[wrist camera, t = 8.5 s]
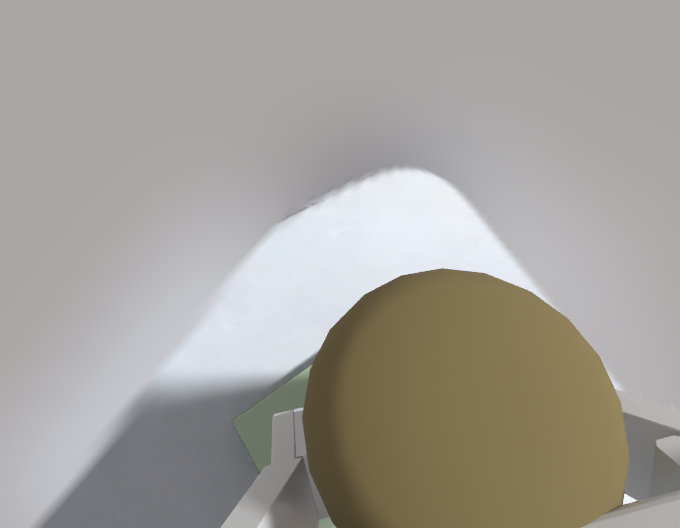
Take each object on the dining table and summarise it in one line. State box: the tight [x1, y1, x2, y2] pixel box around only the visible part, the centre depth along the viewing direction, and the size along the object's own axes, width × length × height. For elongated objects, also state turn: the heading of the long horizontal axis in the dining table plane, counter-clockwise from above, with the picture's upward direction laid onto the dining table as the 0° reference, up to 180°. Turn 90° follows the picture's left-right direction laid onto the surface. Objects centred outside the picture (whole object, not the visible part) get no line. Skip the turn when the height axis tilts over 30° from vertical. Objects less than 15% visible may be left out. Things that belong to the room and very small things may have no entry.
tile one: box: [231, 364, 336, 528], centre depth 19 cm, size 10×10×1 cm
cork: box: [302, 269, 629, 528], centre depth 10 cm, size 6×6×11 cm
